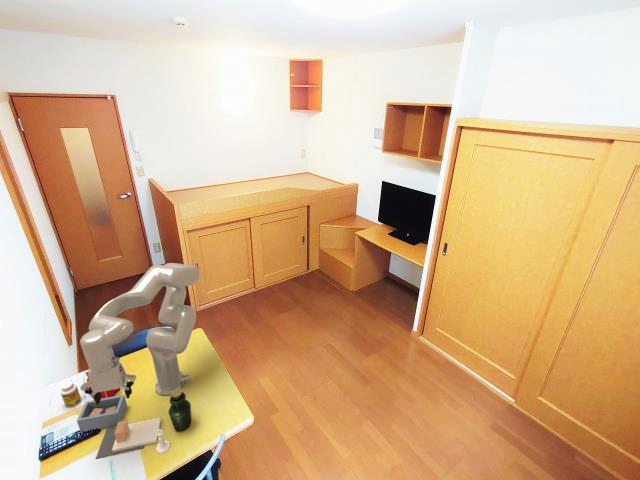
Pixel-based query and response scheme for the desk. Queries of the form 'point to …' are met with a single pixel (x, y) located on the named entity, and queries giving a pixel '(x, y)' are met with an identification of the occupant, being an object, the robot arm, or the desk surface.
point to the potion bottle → (180, 411)
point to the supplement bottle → (70, 394)
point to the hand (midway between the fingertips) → (114, 398)
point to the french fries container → (105, 393)
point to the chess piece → (162, 443)
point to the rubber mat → (111, 445)
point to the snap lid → (135, 434)
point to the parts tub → (102, 413)
